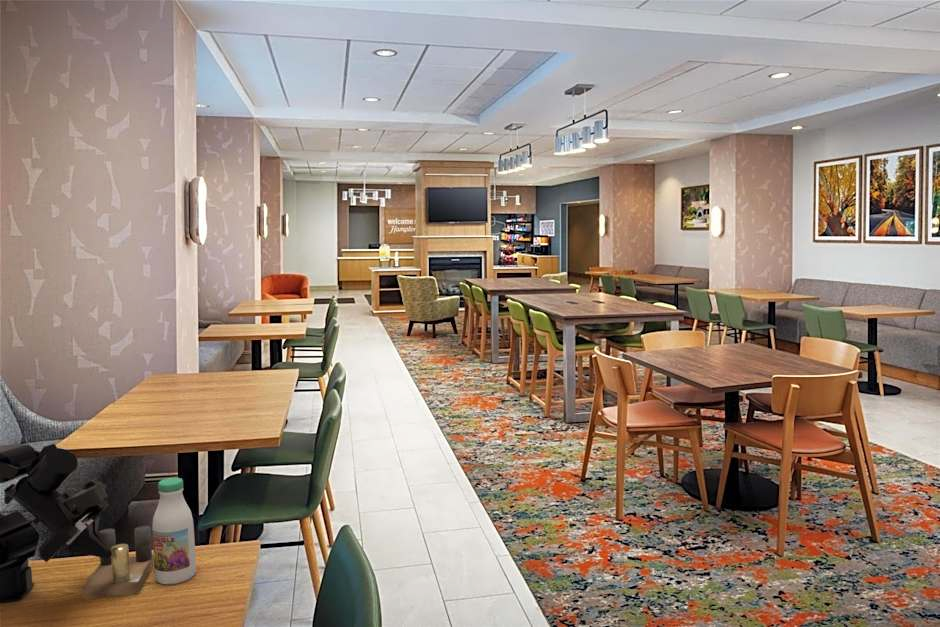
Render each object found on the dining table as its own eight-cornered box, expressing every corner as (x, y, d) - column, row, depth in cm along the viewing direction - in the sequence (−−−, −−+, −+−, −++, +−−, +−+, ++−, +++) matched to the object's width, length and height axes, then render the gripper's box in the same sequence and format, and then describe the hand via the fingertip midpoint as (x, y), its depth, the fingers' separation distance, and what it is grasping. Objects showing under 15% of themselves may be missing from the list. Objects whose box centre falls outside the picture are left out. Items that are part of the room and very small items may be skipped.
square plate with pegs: (83, 599, 134) (80, 553, 133) (104, 571, 146) (101, 529, 145) (138, 594, 136) (136, 549, 135) (155, 566, 147) (152, 524, 146)
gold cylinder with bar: (111, 572, 139) (109, 540, 138) (128, 568, 140) (126, 537, 139) (113, 584, 133) (111, 551, 133) (130, 580, 135) (128, 548, 134)
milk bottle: (167, 567, 147) (162, 474, 145) (203, 568, 146) (198, 474, 144) (147, 584, 139) (141, 486, 137) (184, 586, 139) (179, 487, 137)
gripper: (54, 486, 123) (123, 545, 125) (96, 457, 141) (155, 509, 143) (7, 532, 122) (77, 590, 125) (56, 498, 141) (116, 549, 143)
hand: (109, 556), depth 134 cm, fingers closed, pressing on gold cylinder with bar
